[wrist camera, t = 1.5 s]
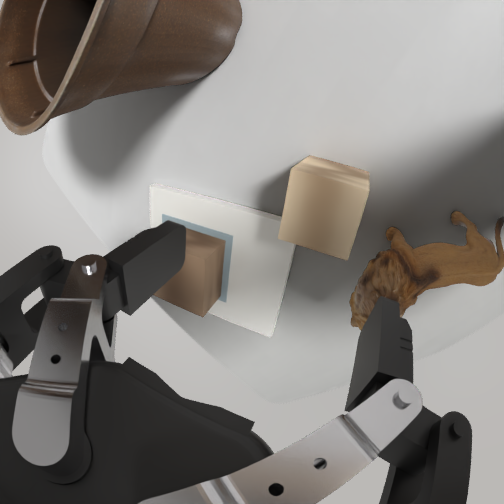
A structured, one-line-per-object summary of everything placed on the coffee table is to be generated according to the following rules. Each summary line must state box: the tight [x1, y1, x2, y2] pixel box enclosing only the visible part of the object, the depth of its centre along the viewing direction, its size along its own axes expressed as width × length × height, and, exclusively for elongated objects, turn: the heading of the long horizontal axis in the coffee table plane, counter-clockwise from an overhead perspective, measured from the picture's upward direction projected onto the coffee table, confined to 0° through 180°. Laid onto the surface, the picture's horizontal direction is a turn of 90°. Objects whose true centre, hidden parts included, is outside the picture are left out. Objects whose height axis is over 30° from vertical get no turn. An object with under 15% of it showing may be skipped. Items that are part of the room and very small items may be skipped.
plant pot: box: [0, 0, 242, 135], centre depth 13 cm, size 16×16×16 cm
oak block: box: [278, 155, 369, 261], centre depth 20 cm, size 5×5×6 cm
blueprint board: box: [149, 183, 296, 338], centre depth 30 cm, size 16×14×1 cm
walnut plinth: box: [153, 228, 226, 317], centre depth 29 cm, size 7×7×4 cm
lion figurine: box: [349, 211, 504, 330], centre depth 17 cm, size 15×5×9 cm, turn 121°
